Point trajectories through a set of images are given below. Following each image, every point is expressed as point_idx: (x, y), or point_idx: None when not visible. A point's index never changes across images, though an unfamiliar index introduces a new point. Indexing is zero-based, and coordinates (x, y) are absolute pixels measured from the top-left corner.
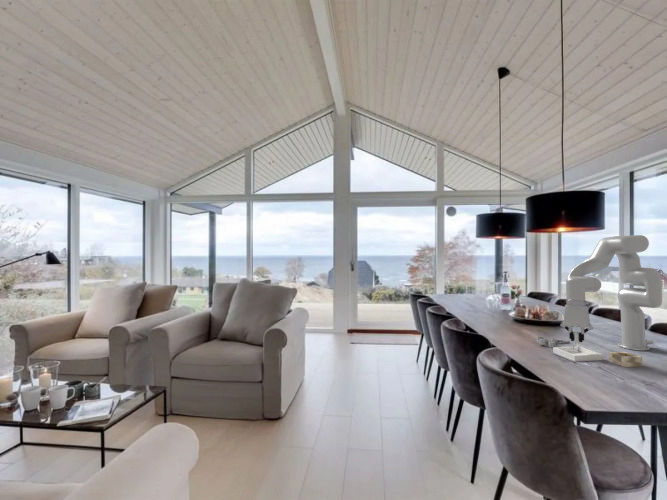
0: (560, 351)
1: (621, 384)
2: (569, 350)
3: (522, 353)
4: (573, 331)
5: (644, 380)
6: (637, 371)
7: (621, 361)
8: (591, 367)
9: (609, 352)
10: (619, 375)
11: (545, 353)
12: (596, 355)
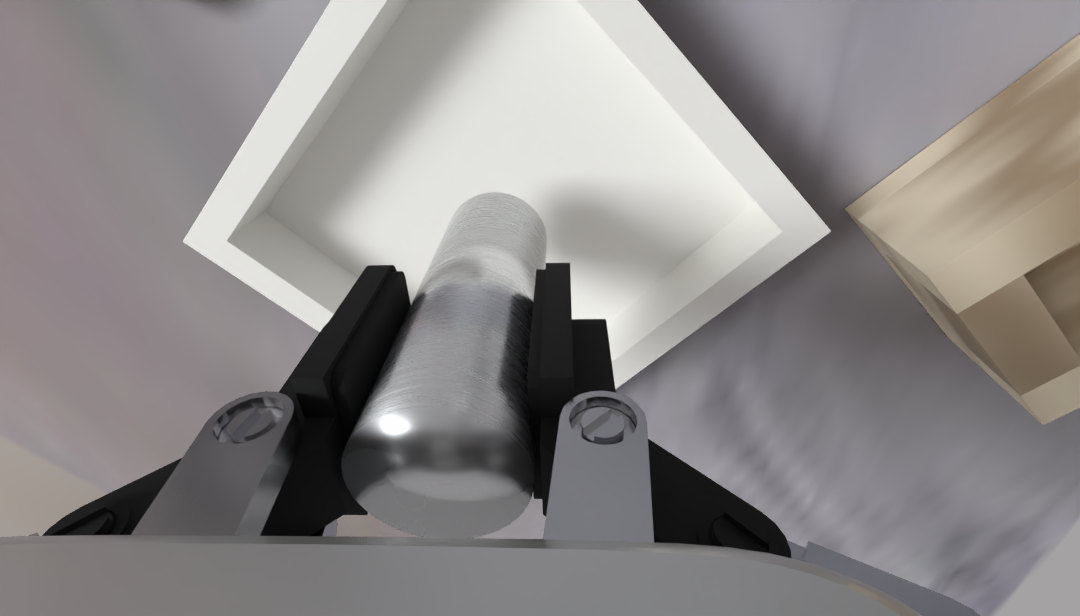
0: None
1: None
2: (362, 61)
3: (31, 358)
4: (355, 471)
5: (976, 523)
6: None
7: (975, 355)
8: (656, 438)
9: (934, 278)
10: (833, 508)
11: (159, 210)
12: (734, 293)
